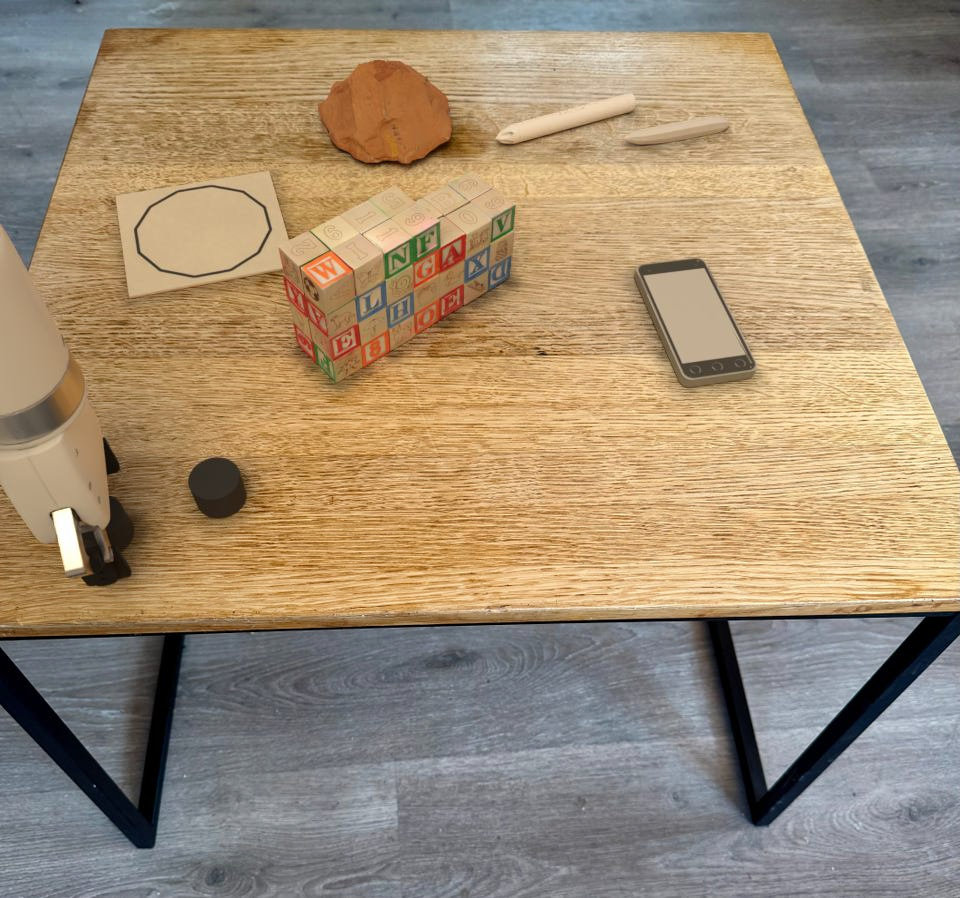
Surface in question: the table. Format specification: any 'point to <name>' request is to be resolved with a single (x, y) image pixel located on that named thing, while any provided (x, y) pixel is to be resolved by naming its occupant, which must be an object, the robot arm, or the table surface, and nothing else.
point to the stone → (386, 113)
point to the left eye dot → (113, 527)
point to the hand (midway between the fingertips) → (105, 523)
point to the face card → (200, 233)
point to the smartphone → (694, 322)
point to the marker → (567, 119)
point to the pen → (678, 130)
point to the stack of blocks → (394, 269)
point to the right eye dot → (217, 487)
